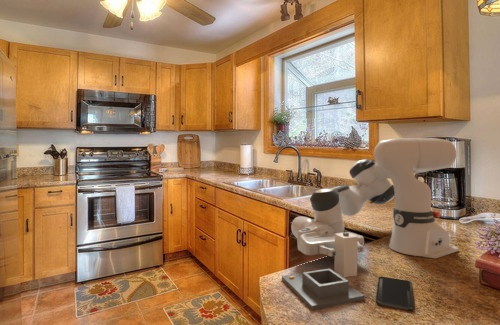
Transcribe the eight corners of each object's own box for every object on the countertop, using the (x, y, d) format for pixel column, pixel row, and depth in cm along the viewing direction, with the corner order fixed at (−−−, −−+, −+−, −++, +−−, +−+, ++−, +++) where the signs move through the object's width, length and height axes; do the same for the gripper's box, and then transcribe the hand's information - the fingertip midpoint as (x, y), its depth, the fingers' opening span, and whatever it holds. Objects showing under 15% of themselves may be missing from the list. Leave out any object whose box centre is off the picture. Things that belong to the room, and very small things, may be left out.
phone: (375, 301, 67) (378, 275, 81) (375, 306, 67) (378, 279, 81) (415, 309, 64) (411, 281, 77) (414, 314, 64) (411, 285, 77)
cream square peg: (347, 269, 87) (347, 230, 87) (357, 275, 83) (357, 234, 82) (334, 271, 86) (334, 231, 85) (343, 277, 82) (344, 236, 81)
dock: (326, 272, 85) (326, 258, 85) (364, 299, 70) (364, 283, 69) (281, 279, 80) (281, 265, 80) (312, 310, 65) (312, 292, 65)
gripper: (347, 243, 100) (377, 257, 87) (293, 250, 93) (316, 267, 80) (347, 225, 100) (377, 236, 86) (293, 231, 93) (316, 244, 80)
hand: (347, 251), depth 83 cm, fingers open, 8 cm apart
